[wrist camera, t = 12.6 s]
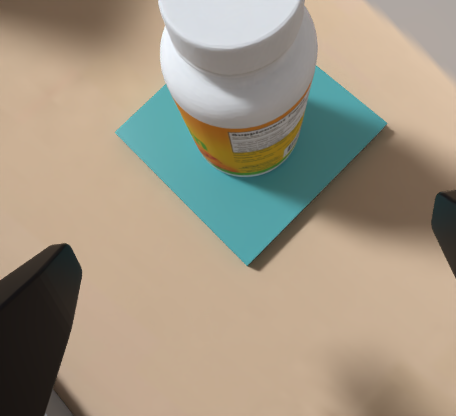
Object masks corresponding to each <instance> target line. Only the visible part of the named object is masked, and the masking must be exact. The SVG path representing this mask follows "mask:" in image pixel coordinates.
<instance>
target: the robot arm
mask: <svg viewBox="0 0 456 416" xmlns="http://www.w3.org/2000/svg"><path fill="white" fill-rule="evenodd" d="M431 225H432V230H433V232H434V234H435V236H436V238H437V240H438V243H439V245H440V247H441V249H442V251H443V253H444V255H445V257H446V259H447V261H448V263H449V265H450V268H451V270H452V272H453V274H454V276H455V278H456V190H451V191H444V192H439V193H438V194H437V195H436V198H435V203H434V209H433V214H432V220H431ZM81 279H82V269H81V266H80V264H79V262H78V260H77V258H76V256H75V254H74V252H73V250H72V248H71V246H70V245H69V244H66V243H62V244H55V245H51V246H49V247H47V248H46V249H44V250H43V251H42V252H40V253H39V254H37V255H36V256H34V257H33V258H32V259H30V260H29V261H27V262H26V263H24V264H23V265H21V266H20V267H19V268H17V269H16V270H14V271H13V272H11V273H10V274H9V275H7V276H6V277H4V278H3V279H1V280H0V416H45V413H46V409H47V406H48V403H49V400H50V397H51V393H52V390H53V387H54V384H55V381H56V378H57V374H58V371H59V368H60V365H61V362H62V358H63V355H64V352H65V349H66V346H67V343H68V339H69V336H70V332H71V329H72V324H73V320H74V315H75V310H76V305H77V300H78V294H79V289H80V284H81Z"/></svg>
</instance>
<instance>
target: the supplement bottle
mask: <svg viewBox="0 0 456 416" xmlns="http://www.w3.org/2000/svg"><path fill="white" fill-rule="evenodd" d="M158 4H159V8H160V12H161V15H162V18H163V20H164V23H165V28H164V31H163V35H162V38H161V44H160V63H161V69H162V73H163V76H164V79H165V82H166V85H167V87H168V89H169V91H170V93H171V95H172V97H173V99H174V101H175V103H176V105H177V107H178V109H179V111H180V113H181V116H182V118H183V120H184V122H185V124H186V126H187V128H188V130H189V132H190V134H191V135H192V137H193V139H194V141H195V143H196V145H197V147H198V149H199V151H200V152H201V154H202V155H203V157H204V158H205V159H206V160H207V161H208V163H210V164H211V165H212V166H213V167H215V168H216V169H218V170H219V171H221V172H223V173H226V174H228V175H232V176H237V177H252V176H258V175H262V174H265V173H268V172H270V171H272V170H273V169H275V168H277V167H278V166H279V165H280V164H282V163H283V162H284V161H285V160H286V159H287V158H288V156H289V155H290V154H291V152H292V151H293V149H294V147H295V145H296V143H297V140H298V137H299V134H300V130H301V126H302V122H303V117H304V113H305V109H306V105H307V100H308V96H309V92H310V88H311V84H312V80H313V76H314V72H315V67H316V60H317V49H318V45H317V36H316V30H315V27H314V23H313V21H312V18H311V16H310V14H309V12H308V10H307V9H306V7H305V6H304V0H158Z"/></svg>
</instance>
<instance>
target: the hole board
mask: <svg viewBox="0 0 456 416" xmlns="http://www.w3.org/2000/svg"><path fill="white" fill-rule="evenodd" d="M45 416H74V415H73V414H72V413H71V412H70V410H69V409H68V408H67V406H66V405H65V404H64V403H63V401H62V400H61V399H60V397H59V396H58V395H57V393H56V392H55V391H54V390H52V393H51V397H50V400H49V403H48V406H47V409H46V413H45Z"/></svg>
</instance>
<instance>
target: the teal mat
mask: <svg viewBox="0 0 456 416" xmlns="http://www.w3.org/2000/svg"><path fill="white" fill-rule="evenodd" d="M386 125H387V122H385V121H384V120H383V119H382V118H380V117H379V116H378V115H377V114H375V113H374V112H373V111H372V110H370V109H369V108H368V107H367V106H366V105H364V104H363V103H362V102H361V101H359V100H358V99H357V98H356V97H354V96H353V95H352V94H351V93H349V92H348V91H347V90H346V89H345V88H343V87H342V86H341V85H340V84H338V83H337V82H336V81H335V80H333V79H332V78H331V77H330V76H329V75H327V74H326V73H325V72H324V71H322V70H321V69H320V68H319V67H317V66H316V67H315V72H314V76H313V80H312V84H311V88H310V92H309V96H308V100H307V105H306V109H305V113H304V117H303V122H302V126H301V130H300V134H299V137H298V140H297V143H296V145H295V147H294V149H293V151H292V152H291V154H290V155H289V156H288V158H287V159H286V160H285V161H284V162H283V163H282V164H280V165H279V166H278V167H277V168H275V169H273V170H272V171H270V172H268V173H265V174H262V175H258V176H252V177H237V176H232V175H228V174H226V173H223V172H221V171H219V170H218V169H216V168H215V167H213V166H212V165H211V164H210V163H208V161H207V160H206V159H205V158H204V157H203V155H202V154H201V152H200V151H199V149H198V147H197V145H196V143H195V141H194V139H193V137H192V135H191V134H190V132H189V130H188V128H187V126H186V124H185V122H184V120H183V118H182V116H181V113H180V111H179V109H178V107H177V105H176V103H175V101H174V99H173V97H172V95H171V93H170V91H169V89H168V87H167V85H166V84H165V85H164V86H163V87H162V88H161V89H160V90H159V91H158V92H157V93H156V94H155V95H154V96H153V97H152V98H151V99H149V100H148V101H147V102H146V103H145V104H144V105H143V106H142V107H141V108H140V109H139V110H138V111H137V112H136V113H135V114H134V115H133V116H131V117H130V118H129V119H128V120H127V121H126V122H125V123H124V124H123V125H122V126H121V127H120V128H119V129H118V130H117V131H116V132H115V133H116V134H117V135H118V136H119V137H120V138H121V139H122V140H123V141H124V142H125V143H126V144H127V145H128V146H129V147H130V148H131V149H132V150H133V151H134V152H135V153H136V154H137V155H138V156H139V157H140V158H141V159H142V160H143V161H144V163H145V164H146V165H147V166H148V167H149V168H150V169H151V170H152V171H153V172H154V173H155V174H156V175H157V176H158V177H159V178H160V179H161V180H162V181H163V182H164V183H165V184H166V185H167V186H168V187H169V188H170V189H171V190H172V191H173V192H174V193H175V194H176V195H177V196H178V197H179V198H180V199H181V200H182V201H183V202H184V203H185V204H186V205H187V206H188V207H189V208H190V209H191V210H192V211H193V212H194V213H195V214H196V215H197V216H198V217H199V218H200V219H201V220H202V221H203V222H204V223H205V224H206V225H207V226H208V227H209V228H210V229H211V230H212V231H213V232H214V233H215V234H216V235H217V236H218V237H219V238H220V239H221V240H222V241H223V242H224V243H225V244H226V245H227V246H228V247H229V248H230V249H231V250H232V251H233V252H234V253H235V254H236V255H237V256H238V257H239V258H240V259H241V260H242V261H243V262H244V263H245V264H246V265H247V266H248V265H249V264H250V263H251V262H252V261H253V260H254V259H255V258H256V257H257V256H258V255H259V254H260V253H261V252H262V251H263V250H264V249H265V248H266V247H267V246H268V245H269V244H270V243H271V242H272V241H273V240H274V239H275V238H276V237H277V236H278V235H279V234H280V233H281V232H282V231H283V230H284V229H285V228H286V227H287V226H288V225H289V224H290V223H291V222H292V221H293V220H294V219H295V218H296V217H297V216H298V214H299V213H300V212H301V211H302V210H303V209H304V208H305V207H306V206H307V205H308V204H309V203H310V202H311V201H312V200H313V199H314V198H315V197H316V196H317V195H318V194H319V193H320V192H321V191H322V190H323V189H324V188H325V187H326V186H327V185H328V184H329V183H330V182H331V181H332V180H333V179H334V178H335V177H336V176H337V175H338V174H339V173H340V172H341V171H342V170H343V169H344V168H345V167H346V166H347V165H348V164H349V163H350V162H351V161H352V160H353V159H354V158H355V157H356V156H357V155H358V154H359V153H360V152H361V151H362V150H363V149H364V148H365V147H366V146H367V145H368V144H369V143H370V142H371V140H372V139H373V138H374V137H375V136H376V135H377V134H378V133H379V132H380V131H381V130H382V129H383V128H384V127H385V126H386Z"/></svg>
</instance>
